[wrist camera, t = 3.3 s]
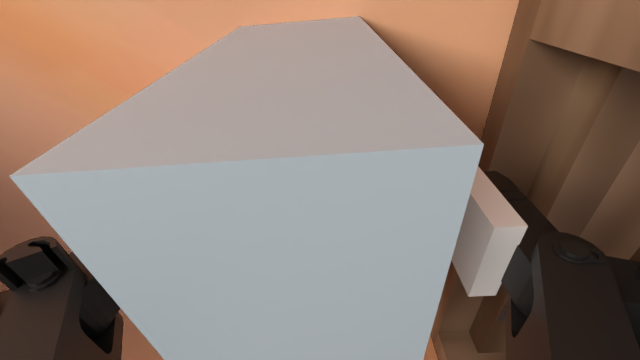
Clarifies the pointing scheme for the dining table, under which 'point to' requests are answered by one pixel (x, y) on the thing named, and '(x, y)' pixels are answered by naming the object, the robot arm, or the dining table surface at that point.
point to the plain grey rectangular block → (270, 198)
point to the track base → (559, 145)
